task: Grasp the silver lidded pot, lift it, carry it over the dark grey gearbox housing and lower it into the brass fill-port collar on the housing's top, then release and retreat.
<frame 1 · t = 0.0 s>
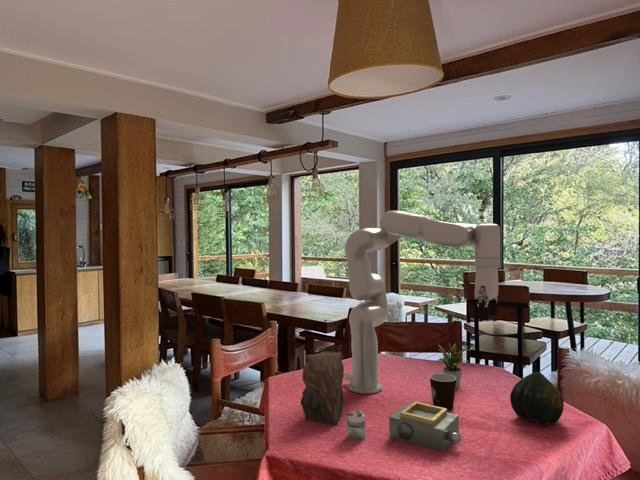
hand: (487, 317, 145), 31 cm above the table, fingers open, 9 cm apart
silver lidded pot: (356, 437, 132), on the table
brown rock: (325, 418, 146), on the table
gearbox: (424, 436, 132), on the table
squash: (536, 420, 142), on the table
coffee mug: (442, 405, 154), on the table
house plant: (454, 386, 172), on the table
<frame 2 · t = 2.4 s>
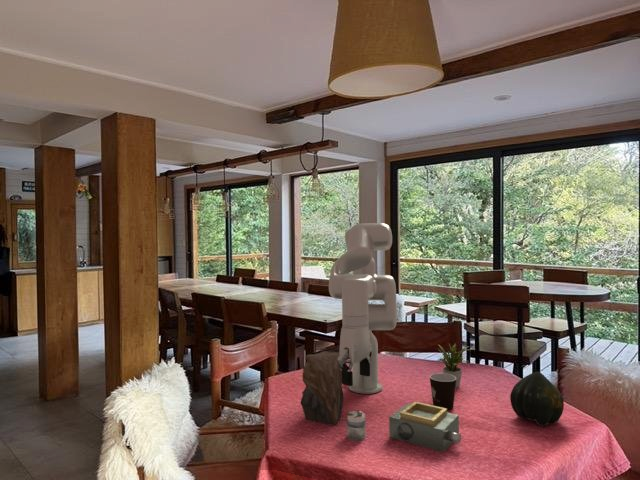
hand: (356, 380, 132), 16 cm above the table, fingers open, 9 cm apart
nothing on the table moved.
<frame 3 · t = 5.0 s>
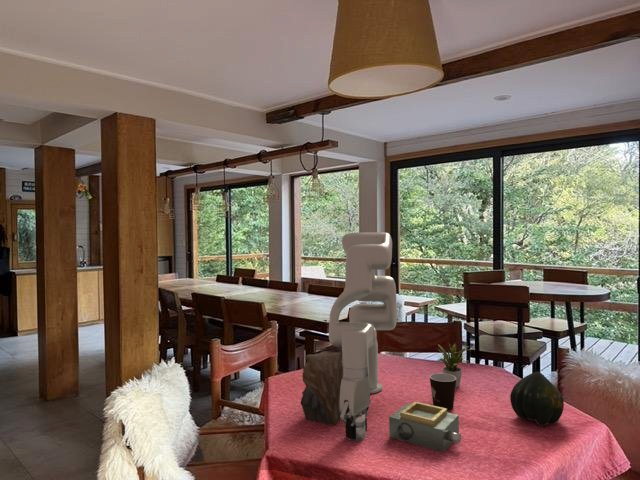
hand: (356, 433, 132), 1 cm above the table, fingers closed on silver lidded pot, 5 cm apart
silver lidded pot: (356, 437, 132), on the table, touching gripper
everything else where it was.
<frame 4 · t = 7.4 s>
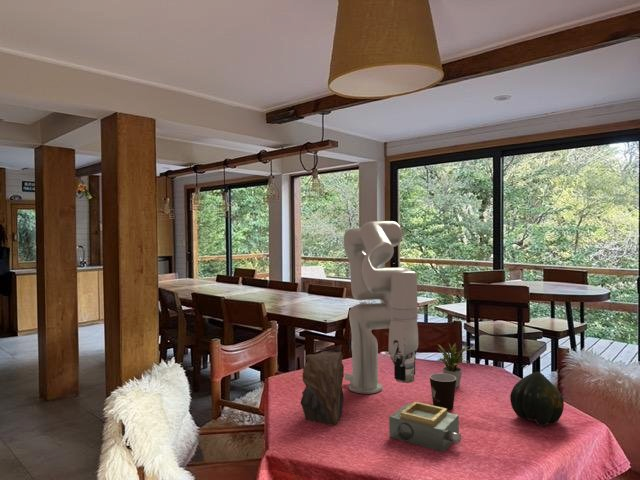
hand: (405, 376, 131), 18 cm above the table, fingers closed on silver lidded pot, 5 cm apart
silver lidded pot: (405, 379, 131), point 16 cm above the table, touching gripper
everything else where it was.
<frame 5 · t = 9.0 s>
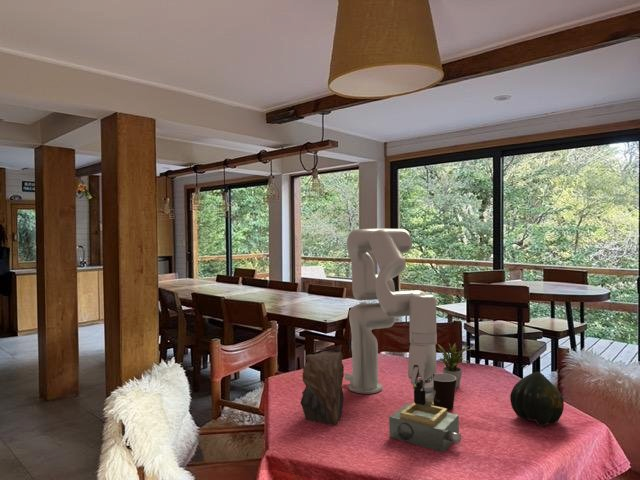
hand: (424, 400, 131), 11 cm above the table, fingers closed on silver lidded pot, 5 cm apart
silver lidded pot: (424, 403, 131), point 10 cm above the table, touching gripper
everything else where it was.
when the fingers open (8 cm above the table, at t = 10.2 s): silver lidded pot drops 1 cm, resting on gearbox.
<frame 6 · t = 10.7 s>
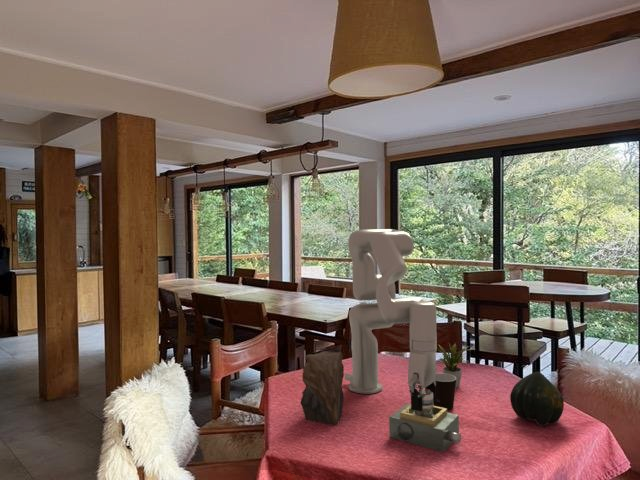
hand: (423, 404, 132), 9 cm above the table, fingers open, 9 cm apart
silver lidded pot: (424, 415, 132), point 6 cm above the table, touching gearbox
everything else where it was.
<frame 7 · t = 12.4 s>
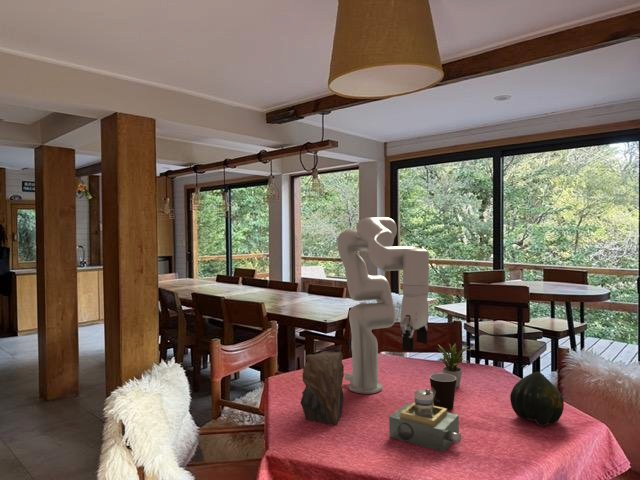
hand: (415, 346, 138), 24 cm above the table, fingers open, 9 cm apart
nothing on the table moved.
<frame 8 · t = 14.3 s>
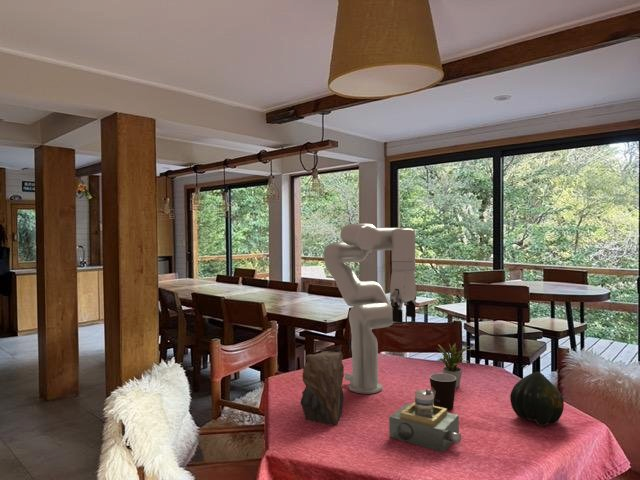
hand: (404, 319, 149), 30 cm above the table, fingers open, 9 cm apart
nothing on the table moved.
at the end: silver lidded pot inside the target area on the gearbox (0.2 cm from its centre), point 6.0 cm above the gearbox's base; silver lidded pot tilted 1°; the gripper is holding nothing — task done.
